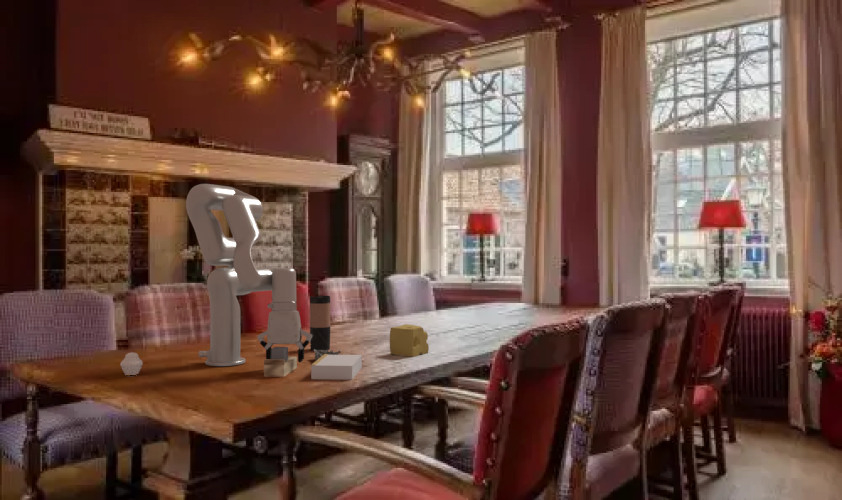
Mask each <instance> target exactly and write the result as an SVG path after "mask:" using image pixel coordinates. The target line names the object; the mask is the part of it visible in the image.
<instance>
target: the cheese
mask: <svg viewBox="0 0 842 500" xmlns="http://www.w3.org/2000/svg"><path fill="white" fill-rule="evenodd" d="M428 337H429V336H428V332H427V331H425V330H424V328H423V327H422V326H420V325H414V324H406V323H405V324H402V325H399V326H395V327H394V326H393V327H390V331H389V350H390V351H389V352H390V355H392V354H394V355H393V356H401V355H403V357H410V358H411V357H412V358H414V357H417V356H419V355H426V354H428V353H429V348H430V347H429V343H428V342H427V341H428Z"/></svg>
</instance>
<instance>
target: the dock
mask: <svg viewBox="0 0 842 500" xmlns="http://www.w3.org/2000/svg"><path fill="white" fill-rule="evenodd" d="M362 361H363V354H339V355H328V354H324V355H323V356H322V357H320V358H319V359H318V360H315V361H314V362H313V363H311V365H310V366H311V373H310V374H311V377H310V378H311V380H345V381H346V380H348V381H349V380H353V379H354V378H355V377H356V376H357V374H358V373H359V372H360V370H361V369H362V368H363V364H362Z"/></svg>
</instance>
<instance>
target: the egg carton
mask: <svg viewBox="0 0 842 500" xmlns="http://www.w3.org/2000/svg"><path fill="white" fill-rule="evenodd" d="M313 352H314V360H315V361H317V360H318V359H319V358H320V357H322V356H323V355H324V354H328V355H340V354H341V350H338V351H334V350H331V349H330V351H329V350H315V349H314V351H313Z"/></svg>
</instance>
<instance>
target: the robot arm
mask: <svg viewBox="0 0 842 500" xmlns="http://www.w3.org/2000/svg"><path fill="white" fill-rule="evenodd" d="M185 207H186V213H187V215H188V218H189V221H190V222H191V225H192V227H193V229H194V232H195V235H196V240H197V242H198V245H199V248H200V251H201V254H202V257H203V260H204V262H205V263H206V264H208V265H209V266H215V267H218V268H215V269H213V270H212V271H211V272H210V273H209V275H208V277H207V280H206V286H207V293H208V297H209V309H210V311H209V314H210V315H209V316H210V321H209V322H210V329H209V331H210V332H209V333H210V335H209V336H210V341H209V343H210V345H209V346H210V348H209V349H208V350H199V351H198V358H206V360H205V365H206V366H211V367H230V366H231V367H232V366H238V365H243V364H245V363H246V358H245V357H243V356H241V306H240V303H239V300H238V298H237V296H245V295H248V294H251V293H257V292H258V293H259V292H269V291H270V292H271V302H270V303H268V304H267V308H268V309H271V311H270V312H269V314H268V320H267V330H266V331H263V332H262V333H260V334H257V335H256V337H257V340H258V342H259V344H260V345H261V346H262V347H263V348H264V350H265V359H272V346H273V345H296V346H297V347H298V349H297V363H302V362H304V361H303V360H305V348H306V347H307V346H308V345H309V344H310V340H311V338H312V334H310V332H308V331H306V330H304V329H302V323H301V316H300V311H298V310H297V272H296V270H295V269H294V268H292V267H278V268H277V267H270V266H269V267H266V266H265V267H263V266H262V267H256V266H255V263H254V261H253V258H252V253H251V252H252V247H253V245H256V244H257V243H258V242H260V240H261V238H262V233H261V230H260V228H259V226H258V223H257V221H259V220H260V219H261V218H262V217H263V213H264V208H263V204H262V203H261V201H260V200H259V198H257V197H255V196H254V195H251V194H249V193H246V192H244V191H242V190H240V189H237V188H235V187H233V186H227V185H219V184H212V183H211V184H210V183H200V184H197V185H194V186H193V187H192V188H190V190H189V192H188V194H187V196H186V200H185ZM212 211H222V212H223V215H224V217H225V220H226V222H227V225H228V228H229V230H230V232H231V235H232V237H227V236H225V233H224V232H223V228H222V225H221V222H220V221H219V219H218V218H217V217H216V215H215V214H214V213H213V212H212ZM219 266H220V267H219ZM221 266H226V267H221ZM303 336H304V337H305V338H306V339H305V341H304V342H303V341H302V338H303ZM264 337H266V340H265V339H264Z"/></svg>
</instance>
